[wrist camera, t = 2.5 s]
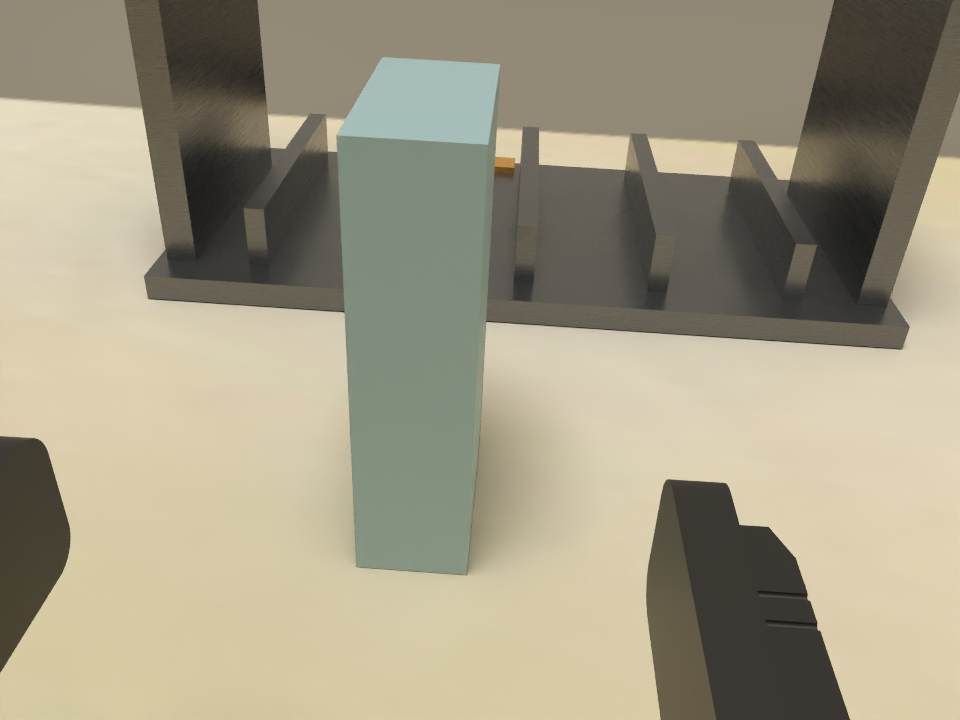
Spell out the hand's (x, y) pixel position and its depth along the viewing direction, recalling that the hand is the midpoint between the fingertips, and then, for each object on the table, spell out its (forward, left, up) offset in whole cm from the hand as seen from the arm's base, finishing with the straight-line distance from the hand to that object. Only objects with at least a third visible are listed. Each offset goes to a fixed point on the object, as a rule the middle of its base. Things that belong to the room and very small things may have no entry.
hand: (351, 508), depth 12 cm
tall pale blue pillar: (0, +11, -10) cm, 15 cm away
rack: (+2, +29, -10) cm, 31 cm away
